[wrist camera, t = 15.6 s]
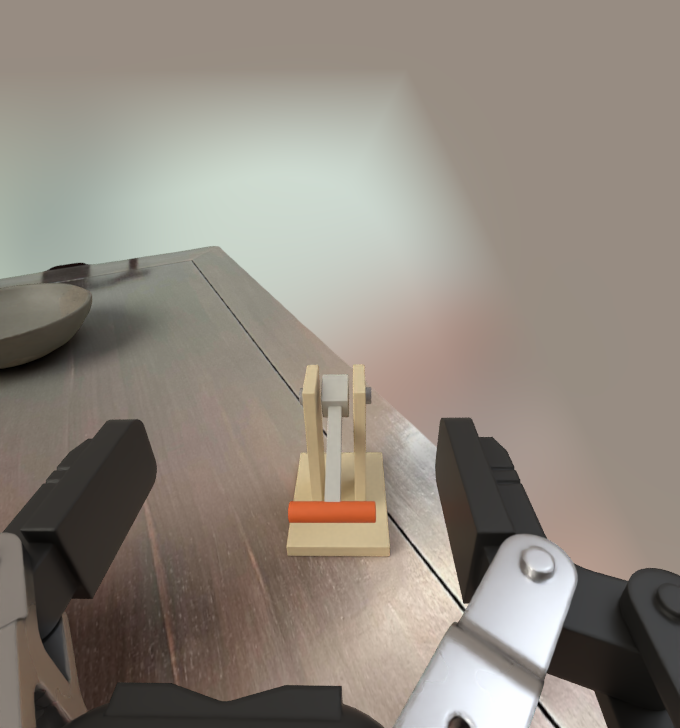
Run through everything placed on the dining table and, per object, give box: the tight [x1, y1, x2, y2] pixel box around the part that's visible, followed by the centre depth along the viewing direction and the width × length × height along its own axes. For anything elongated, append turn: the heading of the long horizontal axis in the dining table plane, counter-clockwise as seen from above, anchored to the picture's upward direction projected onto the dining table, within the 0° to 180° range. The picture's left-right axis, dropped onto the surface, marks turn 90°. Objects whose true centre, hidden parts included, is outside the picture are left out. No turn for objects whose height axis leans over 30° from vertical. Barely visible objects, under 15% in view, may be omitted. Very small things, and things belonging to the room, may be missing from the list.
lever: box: [288, 374, 376, 523], centre depth 33 cm, size 12×6×2 cm, turn 179°
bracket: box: [286, 365, 390, 556], centre depth 39 cm, size 12×9×15 cm
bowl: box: [0, 283, 92, 369], centre depth 71 cm, size 27×28×8 cm
